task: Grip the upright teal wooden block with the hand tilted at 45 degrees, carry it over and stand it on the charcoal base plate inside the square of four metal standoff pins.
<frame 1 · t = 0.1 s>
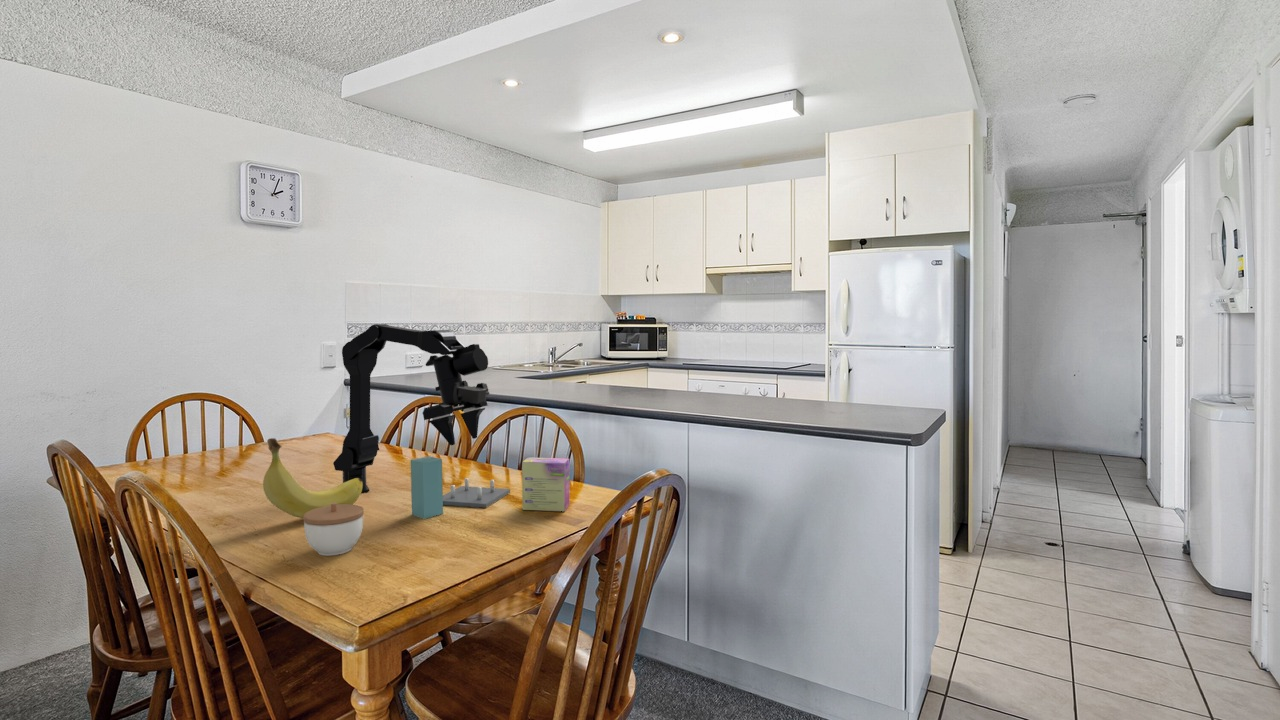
hand: (464, 441, 160), 15 cm above the table, tool pointing down, fingers open, 9 cm apart
teal block: (427, 514, 152), on the table
banana: (317, 519, 149), on the table
lidded jar: (335, 551, 128), on the table
box: (546, 508, 157), on the table
base plate: (473, 498, 165), on the table
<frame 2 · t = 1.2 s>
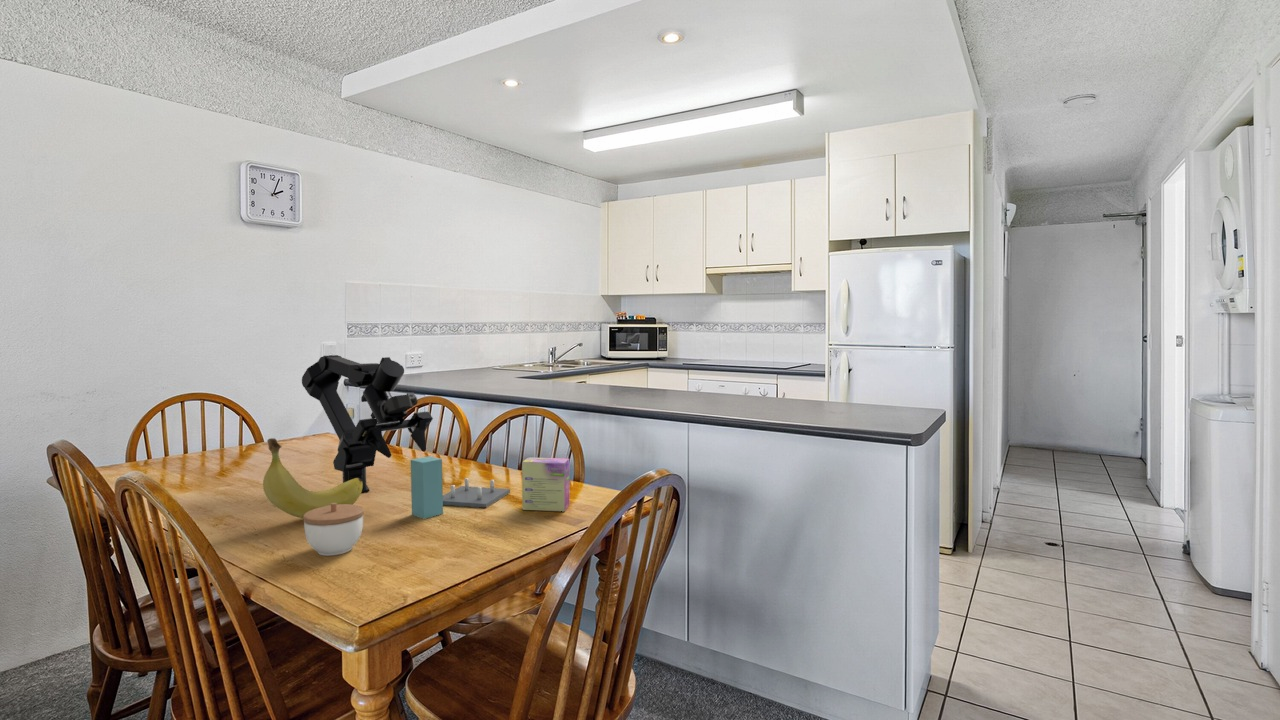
hand: (407, 453, 156), 13 cm above the table, tool tilted 45°, fingers open, 9 cm apart
nothing on the table moved.
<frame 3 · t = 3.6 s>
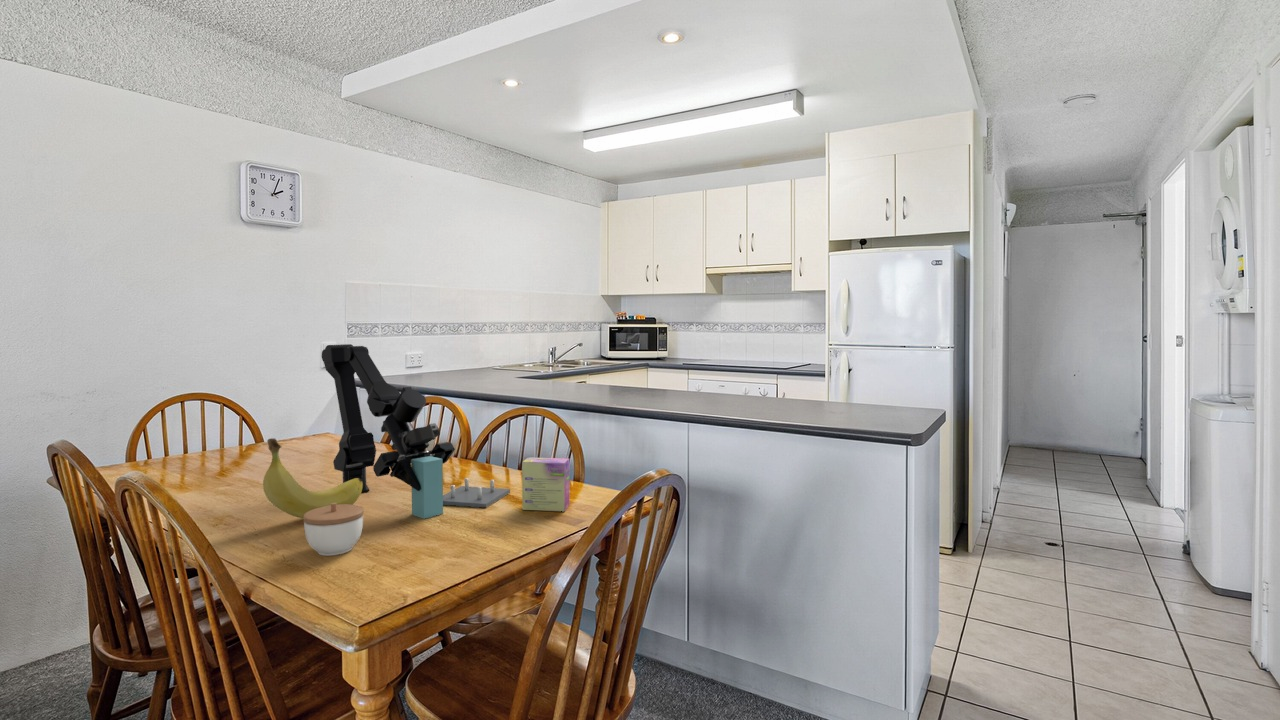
hand: (430, 487, 151), 7 cm above the table, tool tilted 45°, fingers closed on teal block, 5 cm apart
teal block: (427, 514, 152), on the table, touching gripper
everything else where it was.
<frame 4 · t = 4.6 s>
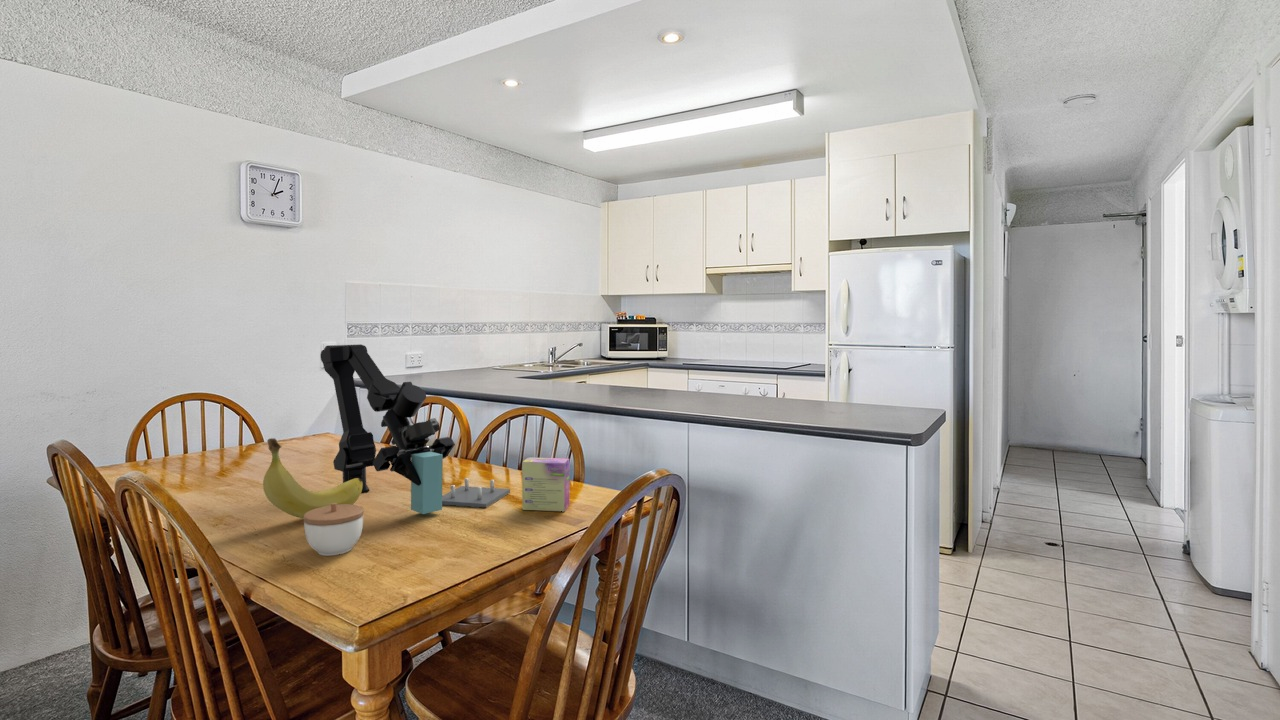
hand: (430, 482, 151), 8 cm above the table, tool tilted 45°, fingers closed on teal block, 5 cm apart
teal block: (426, 509, 152), point 1 cm above the table, touching gripper
everything else where it was.
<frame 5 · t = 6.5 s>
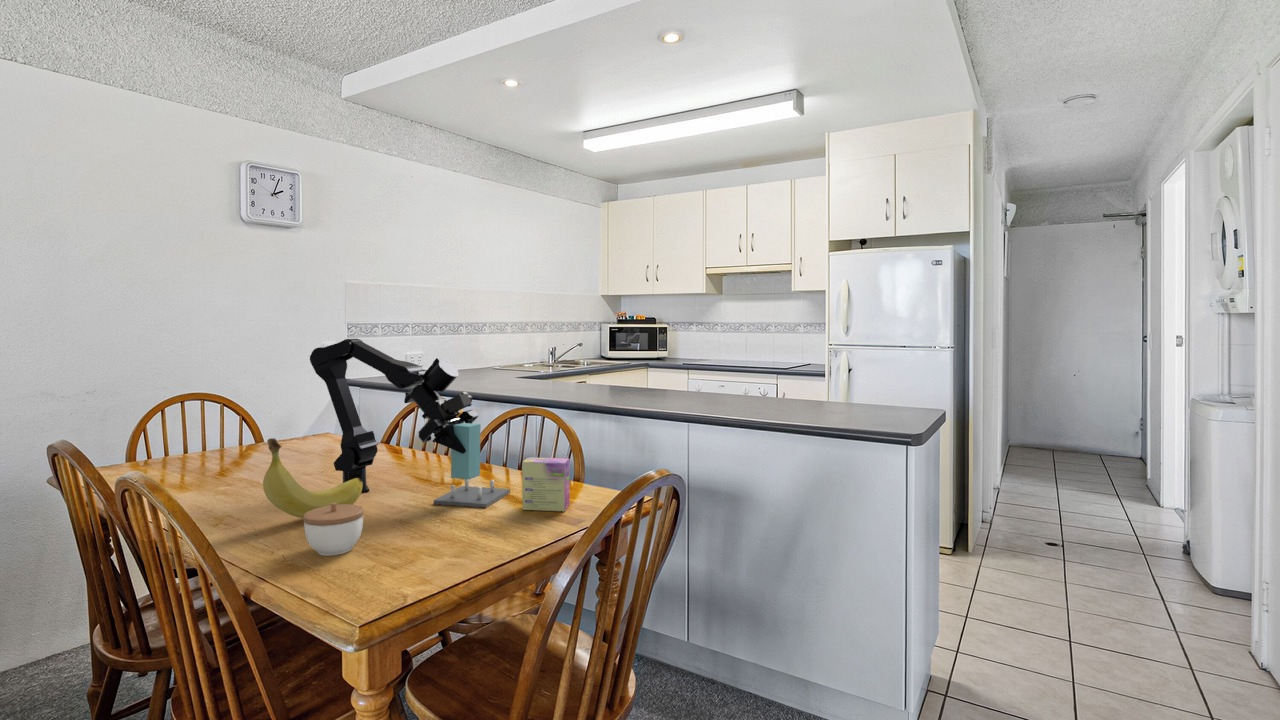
hand: (470, 450, 161), 13 cm above the table, tool tilted 45°, fingers closed on teal block, 5 cm apart
teal block: (465, 476, 162), point 6 cm above the table, touching gripper
everything else where it was.
when the fingers open (9 cm above the table, at t = 8.2 s): teal block drops 1 cm, resting on base plate.
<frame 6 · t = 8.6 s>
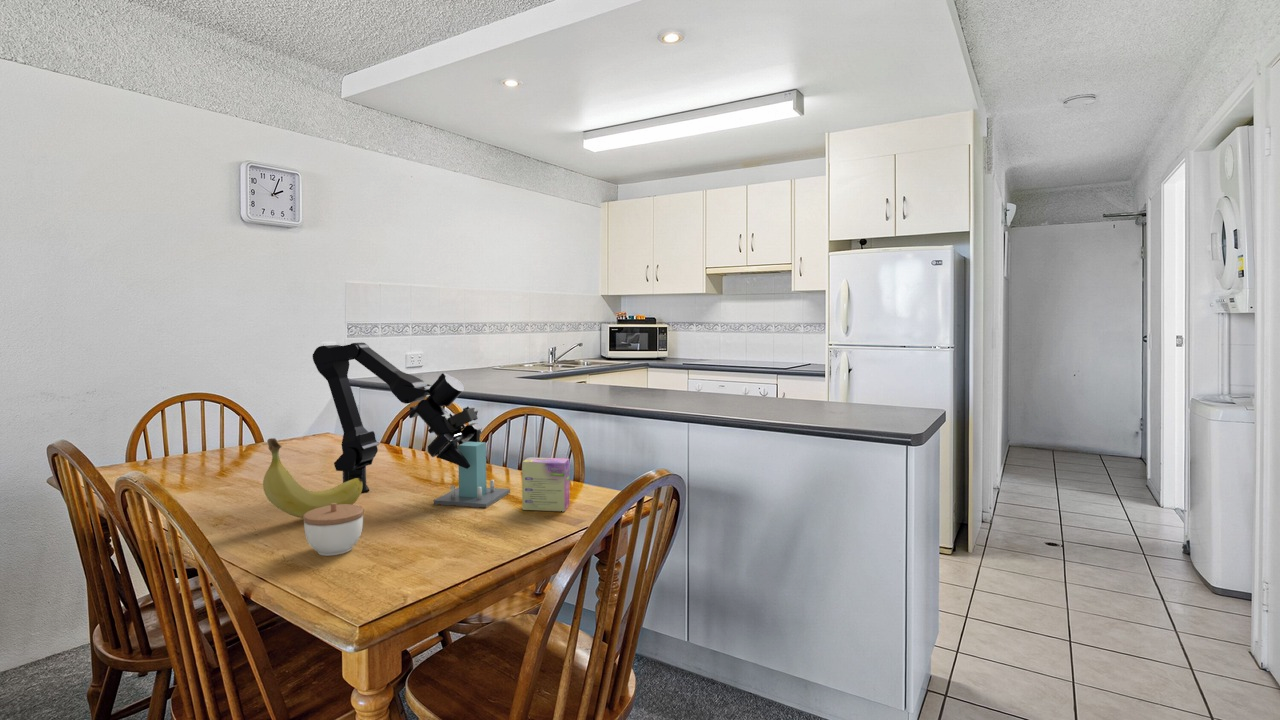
hand: (477, 463, 165), 9 cm above the table, tool tilted 45°, fingers open, 9 cm apart
teal block: (472, 494, 165), point 1 cm above the table, touching base plate
everything else where it was.
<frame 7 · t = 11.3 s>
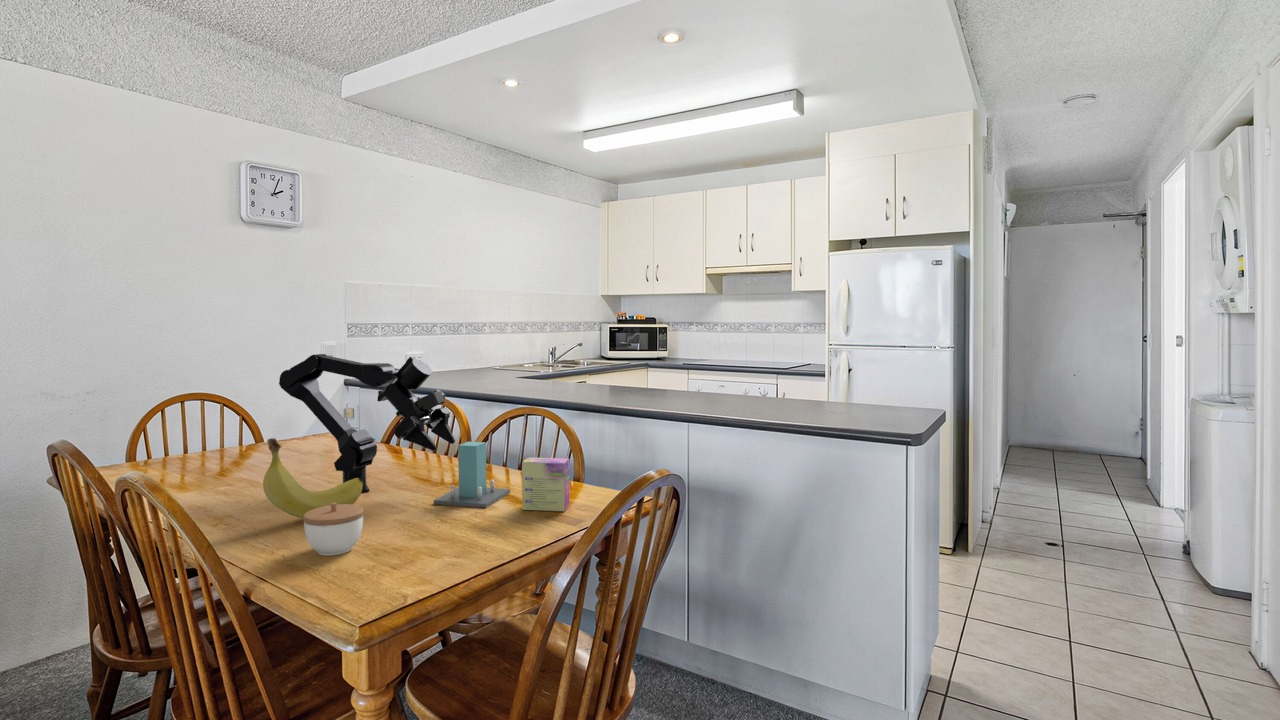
hand: (444, 446, 166), 13 cm above the table, tool tilted 45°, fingers open, 9 cm apart
nothing on the table moved.
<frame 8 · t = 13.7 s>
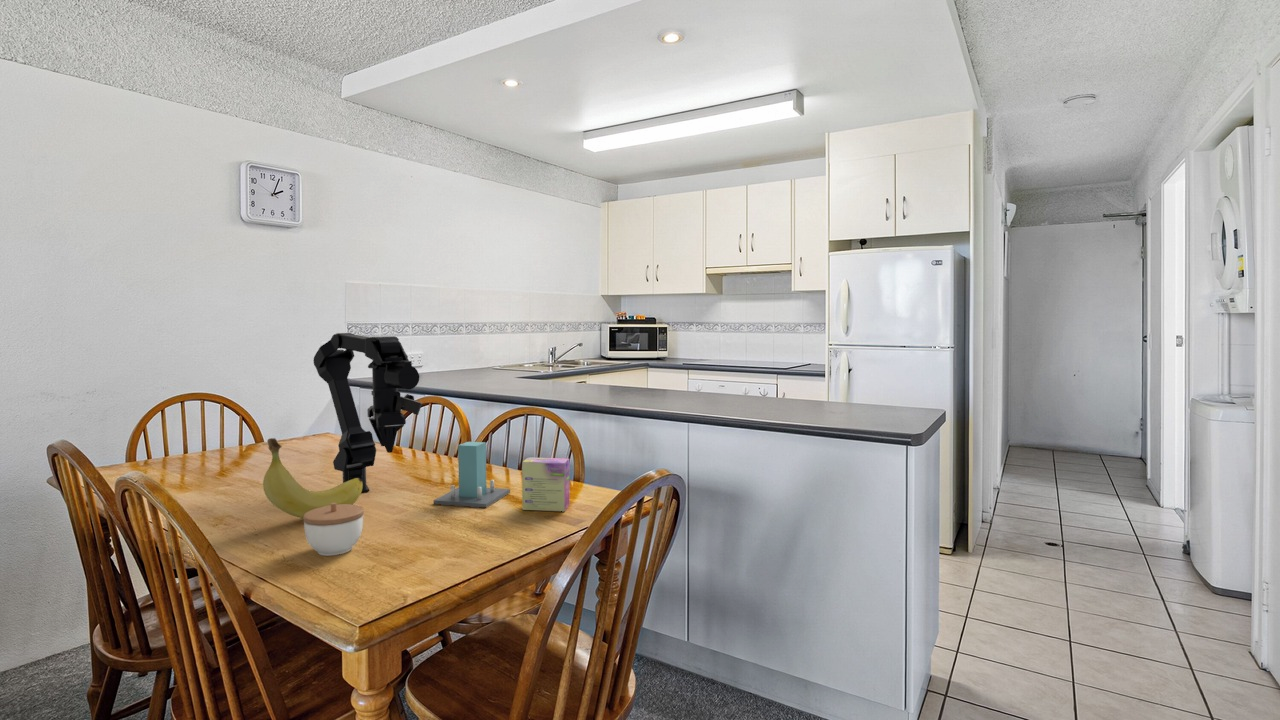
hand: (386, 449, 163), 13 cm above the table, tool pointing down, fingers open, 9 cm apart
nothing on the table moved.
at the end: teal block 0.0 cm off-centre on the base plate, point 1.0 cm above the base plate's base; teal block tilted 0°; the gripper is holding nothing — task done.
